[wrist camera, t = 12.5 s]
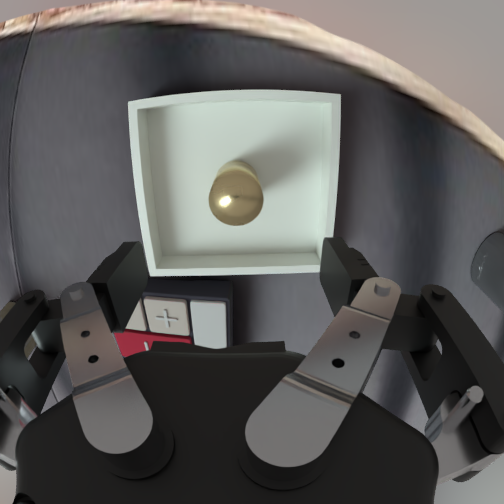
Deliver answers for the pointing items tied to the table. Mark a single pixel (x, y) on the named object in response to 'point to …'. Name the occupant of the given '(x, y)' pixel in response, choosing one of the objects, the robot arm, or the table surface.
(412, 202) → the table surface
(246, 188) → the cylinder
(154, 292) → the calculator
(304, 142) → the tray
